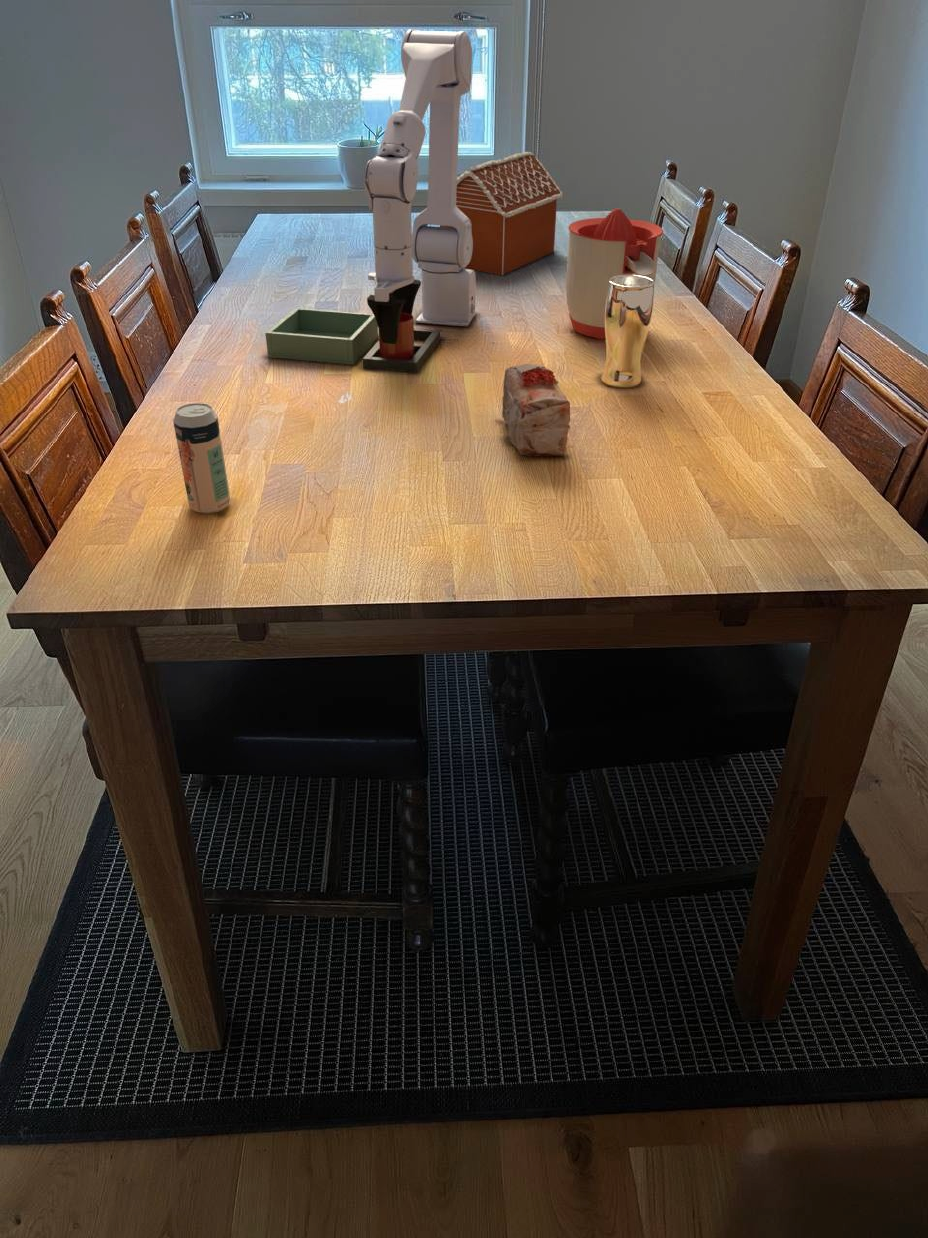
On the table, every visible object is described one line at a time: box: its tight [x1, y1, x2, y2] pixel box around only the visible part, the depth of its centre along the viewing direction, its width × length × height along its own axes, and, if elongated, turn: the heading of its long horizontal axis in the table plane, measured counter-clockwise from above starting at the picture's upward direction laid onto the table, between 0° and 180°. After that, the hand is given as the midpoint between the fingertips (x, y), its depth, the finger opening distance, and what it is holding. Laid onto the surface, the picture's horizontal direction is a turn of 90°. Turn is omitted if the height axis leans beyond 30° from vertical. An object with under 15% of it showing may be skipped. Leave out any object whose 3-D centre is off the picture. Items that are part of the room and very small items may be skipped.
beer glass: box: [600, 275, 656, 388], centre depth 137 cm, size 7×7×15 cm
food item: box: [501, 363, 571, 457], centre depth 120 cm, size 14×8×10 cm, turn 10°
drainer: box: [362, 327, 442, 373], centre depth 150 cm, size 9×16×2 cm, turn 168°
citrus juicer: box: [565, 207, 664, 341], centre depth 155 cm, size 16×17×20 cm
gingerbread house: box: [439, 151, 564, 276], centre depth 194 cm, size 18×26×20 cm
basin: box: [264, 307, 379, 366], centre depth 151 cm, size 15×14×4 cm
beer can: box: [172, 402, 232, 515], centre depth 104 cm, size 5×5×12 cm
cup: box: [378, 312, 415, 360], centre depth 146 cm, size 6×6×7 cm
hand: (396, 335), depth 145 cm, fingers open, 7 cm apart
